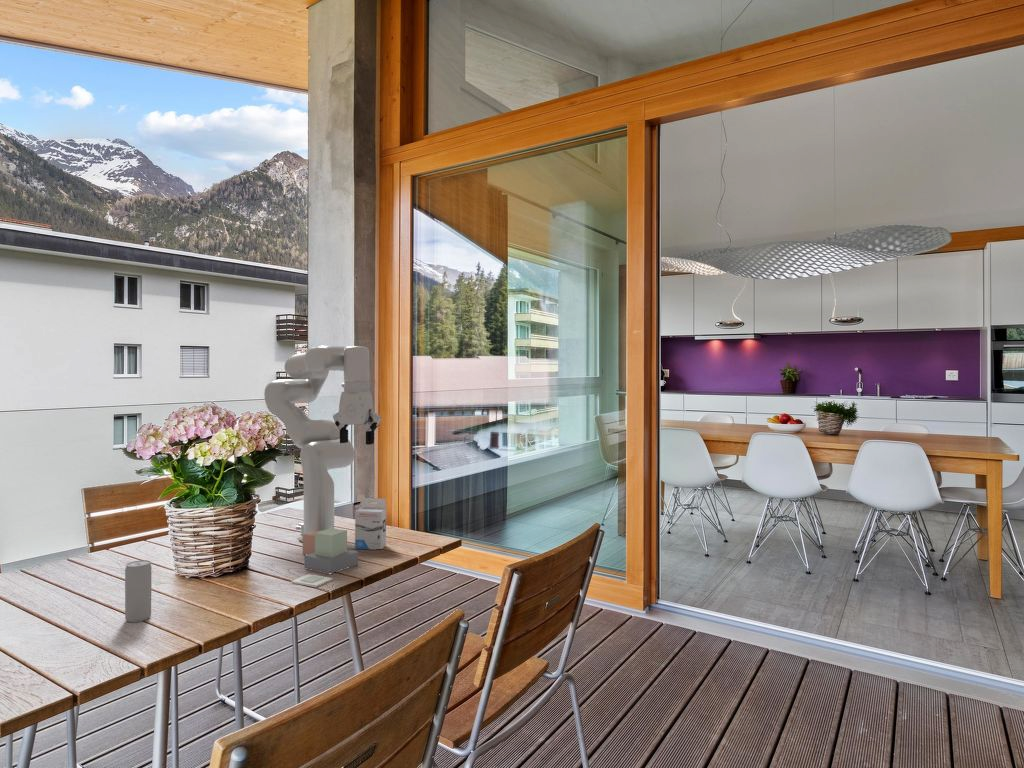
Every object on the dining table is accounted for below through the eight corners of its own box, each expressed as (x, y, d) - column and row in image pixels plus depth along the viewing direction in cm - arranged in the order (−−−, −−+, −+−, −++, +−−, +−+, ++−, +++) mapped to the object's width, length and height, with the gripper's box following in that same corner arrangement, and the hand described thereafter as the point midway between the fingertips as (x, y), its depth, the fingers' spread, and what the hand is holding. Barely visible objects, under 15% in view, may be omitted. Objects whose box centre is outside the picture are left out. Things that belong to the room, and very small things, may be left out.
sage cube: (315, 554, 165) (315, 533, 165) (330, 549, 170) (330, 528, 170) (332, 557, 162) (332, 535, 162) (347, 551, 168) (347, 530, 168)
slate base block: (304, 569, 164) (304, 555, 164) (332, 560, 173) (332, 546, 173) (330, 575, 159) (330, 560, 159) (357, 565, 168) (357, 551, 168)
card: (291, 583, 152) (291, 580, 152) (308, 576, 158) (308, 573, 158) (316, 587, 149) (316, 584, 149) (332, 580, 155) (332, 577, 155)
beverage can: (146, 613, 133) (146, 558, 133) (155, 618, 130) (155, 562, 130) (121, 619, 129) (121, 563, 129) (130, 625, 126) (129, 568, 126)
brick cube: (302, 554, 178) (302, 534, 178) (316, 549, 184) (316, 529, 184) (318, 556, 176) (318, 536, 176) (332, 551, 181) (332, 531, 181)
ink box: (354, 549, 183) (354, 500, 183) (359, 545, 188) (359, 497, 188) (381, 550, 182) (381, 501, 182) (386, 545, 187) (386, 498, 187)
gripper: (325, 387, 182) (325, 443, 182) (372, 387, 175) (372, 446, 175) (342, 386, 189) (342, 441, 189) (387, 387, 182) (387, 443, 182)
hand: (356, 443), depth 182 cm, fingers open, 9 cm apart
